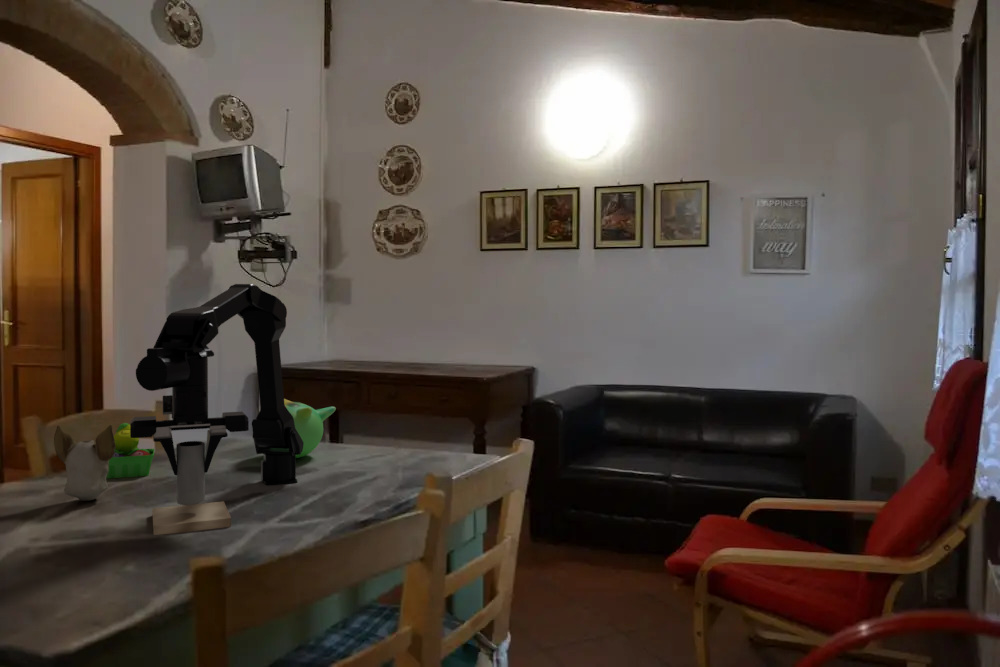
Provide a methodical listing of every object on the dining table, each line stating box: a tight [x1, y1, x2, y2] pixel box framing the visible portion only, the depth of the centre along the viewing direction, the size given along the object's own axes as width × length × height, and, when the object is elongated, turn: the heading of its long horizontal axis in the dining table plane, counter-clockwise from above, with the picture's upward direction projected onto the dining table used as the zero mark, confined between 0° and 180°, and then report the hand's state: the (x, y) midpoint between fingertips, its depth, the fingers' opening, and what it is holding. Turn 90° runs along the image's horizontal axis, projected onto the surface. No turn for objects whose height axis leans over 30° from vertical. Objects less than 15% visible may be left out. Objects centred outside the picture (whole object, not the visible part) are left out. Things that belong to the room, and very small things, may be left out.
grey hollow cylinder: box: [176, 440, 206, 506], centre depth 130 cm, size 4×4×10 cm
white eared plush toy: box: [53, 424, 116, 502], centre depth 142 cm, size 11×9×15 cm
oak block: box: [151, 501, 232, 536], centre depth 130 cm, size 12×12×2 cm
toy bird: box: [284, 398, 337, 459], centre depth 184 cm, size 18×17×15 cm
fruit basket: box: [106, 422, 156, 479], centre depth 164 cm, size 11×9×11 cm
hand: (190, 473), depth 130 cm, fingers closed on grey hollow cylinder, 4 cm apart
